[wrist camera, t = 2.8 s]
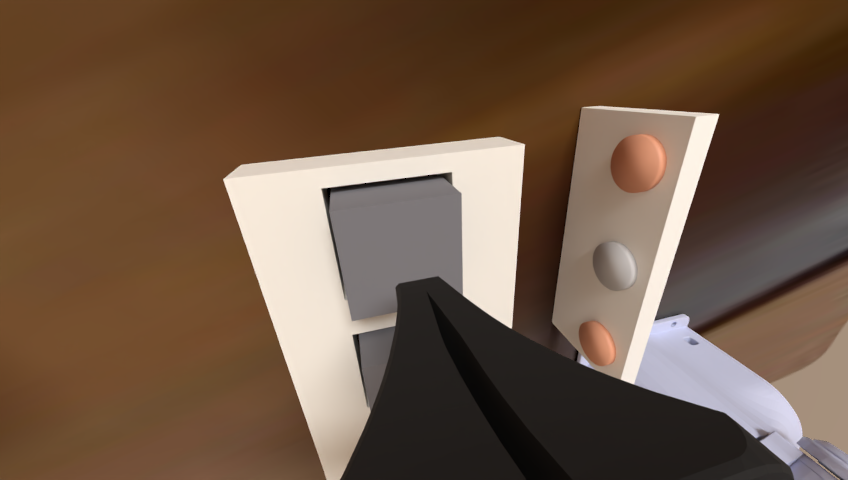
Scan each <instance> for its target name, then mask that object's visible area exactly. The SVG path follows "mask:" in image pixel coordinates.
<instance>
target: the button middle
mask: <svg viewBox="0 0 848 480" xmlns="http://www.w3.org/2000/svg"><path fill="white" fill-rule="evenodd" d="M394 331H395V326H393V327H388V328H383V329H378V330H374V331H369V332H364V333H359V342H360V354H361V366H362V373H363V378H364V382H365V387H366V392H367V397H368V402H369V407H370V411H371V410H372V407H373V404H374V402H375V399H376V396H377V394H378V391H379V388H380V385H381V382H382V379H383V376H384V373H385V369H386V366H387V362H388V359H389V355H390V350H391V346H392V341H393V337H394Z"/></svg>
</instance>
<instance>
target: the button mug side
mask: <svg viewBox="0 0 848 480" xmlns="http://www.w3.org/2000/svg"><path fill="white" fill-rule="evenodd" d="M329 213H330V218H331V223H332V228H333V233H334V238H335V242H336V247H337V252H338V257H339V262H340V267H341V271H342V276H343V281H344V286H345V291H346V295H347V300H348V305H349V310H350V315H351V320H352V321H356V320H361V319H366V318H371V317H376V316H381V315H386V314H391V313H395V312H397V297H396V289H395V287H396V286H397V285H398V284H399V283H404V282H409V281H415V280H420V279H425V278H431V277H436V276H439V277H440V278H441V279H443V280H444V281H445V282H447V283H448V284H449V285H450V286H452V287H453V288H454V289H455V290H457V291H458V292H459V293H460V294H462V295H463V263H462V193H461V192H459V191H458V190H457V189H456V188H455V187H454V186H452V185H451V184H450V183H449V182H448V181H447V180H445V179H444V178H443V177H442V176H441V175H435V176H427V177H419V178H411V179H403V180H395V181H387V182H380V183H372V184H364V185H356V186H348V187H340V188H332V189H331V194H330V207H329Z"/></svg>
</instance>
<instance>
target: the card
mask: <svg viewBox="0 0 848 480" xmlns="http://www.w3.org/2000/svg"><path fill="white" fill-rule="evenodd" d="M718 116H719V114H710V113H695V112H680V111H666V110H651V109H636V108H621V107H606V106H593V107H583V108H582V109H581V116H580V123H579V130H578V137H577V145H576V152H575V159H574V166H573V173H572V180H571V188H570V195H569V202H568V209H567V216H566V224H565V231H564V238H563V245H562V252H561V260H560V267H559V274H558V281H557V288H556V296H555V303H554V310H553V317H552V323H553V324H554V325H555V326H556V328H557V329H558V330H559V331H560V332H561V333H562V334H563V335H564V336H565V337H566V338H567V340H568V341H569V342H570V343H571V344H572V345H573V346H574V347H575V348H576V349H577V351H578V352H579V353H580V354H581V355H582V356H583V357H584V358H585V359H586V360H587V361H588V363H589V364H590V365H591V366H592V367H593V368H594V369H595V370H597V371H599V372H602V373H604V374H607V375H610V376H612V377H615V378H617V379H620V380H623V381H626V382H629V383H631V384H634V383H635V380H636V376H637V373H638V370H639V367H640V364H641V361H642V357H643V354H644V351H645V348H646V345H647V342H648V338H649V335H650V332H651V329H652V326H653V323H654V319H655V316H656V313H657V310H658V307H659V303H660V300H661V297H662V294H663V291H664V288H665V284H666V281H667V278H668V275H669V272H670V269H671V265H672V262H673V259H674V256H675V253H676V250H677V246H678V243H679V240H680V237H681V234H682V231H683V227H684V224H685V221H686V218H687V215H688V212H689V208H690V205H691V202H692V199H693V196H694V193H695V189H696V186H697V183H698V180H699V177H700V174H701V170H702V167H703V164H704V161H705V158H706V155H707V151H708V148H709V145H710V142H711V139H712V135H713V132H714V129H715V126H716V123H717V120H718Z"/></svg>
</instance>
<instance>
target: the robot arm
mask: <svg viewBox="0 0 848 480" xmlns="http://www.w3.org/2000/svg"><path fill="white" fill-rule="evenodd" d="M395 289H396V297H397V317H396V325H395V331H394V337H393V341H392V346H391V350H390V355H389V359H388V362H387V366H386V369H385V373H384V376H383V379H382V382H381V385H380V388H379V391H378V394H377V396H376V399H375V402H374V404H373V407H372V410H371V413H370V415H369V418H368V420H367V422H366V425H365V427H364V430H363V432H362V434H361V436H360V438H359V440H358V443H357V445H356V447H355V449H354V451H353V453H352V456H351V458H350V460H349V462H348V464H347V466H346V469H345V471H344V473H343V475H342V477H341V479H340V480H837V479H836V478H835V477H833V476H832V475H831V474H830V473H828V472H827V471H826V470H825V469H823V468H822V467H821V466H820V465H818V464H817V463H815V462H814V461H813V460H812V459H811V458H809V457H808V456H806V455H805V454H804V453H803V452H802V451H800V450H799V448H800V447H802V448H803V449H804V450H806V451H807V452H808V453H809V454H811V455H812V456H813V457H814V458H816V459H817V460H818V462H819V463H820V464H821V465H823V466H824V467H825V468H826V469H828V470H829V471H830V472H831V473H833V474H834V475H835V476H836V477H838V478H839V479H840V480H848V455H847V454H846V453H844V452H843V451H841V450H840V449H838V448H837V447H835V446H834V445H832V444H831V443H829V442H827V441H821V440H811V439H810V438H808V437H802V427H801V424H800V421H799V418H798V417H797V415H796V413H795V411H794V410H793V408H792V407H791V405H790V404H789V403H788V402H787V400H786V399H785V398H784V397H783V396H782V395H781V394H780V393H779V391H778V390H776V389H775V388H774V387H773V386H772V385H771V384H770V383H768V382H767V381H766V380H764V379H763V378H761V377H760V376H759V375H757V374H756V373H754V372H753V371H751V370H750V369H748V368H747V367H745V366H744V365H742V364H741V363H740V362H738V361H737V360H735V359H734V358H732V357H731V356H729V355H728V354H726V353H725V352H723V351H722V350H720V349H719V348H718V347H716V346H715V345H713V344H712V343H710V342H709V341H707V340H706V339H704V338H703V337H701V336H700V335H699V334H697V333H696V332H694V331H693V330H691V329H690V328H688V327H687V325H688V322H689V317H688V316H686V315H685V314H680V315H676V316H672V317H668V318H664V319H660V320H656V321H654V323H653V326H652V329H651V332H650V335H649V338H648V342H647V345H646V348H645V351H644V354H643V357H642V361H641V364H640V367H639V370H638V373H637V376H636V380H635V383H634V384H631V383H629V382H626V381H623V380H620V379H617V378H615V377H612V376H610V375H607V374H604V373H602V372H599V371H597V370H595V369H594V368H593V367H592V366H591V365H590V364H589V363H588V361H587V360H586V359H585V358H584V357H583V356H582V355H581V354H580V353H578V358H577V362H576V361H573V360H571V359H569V358H567V357H564V356H562V355H560V354H558V353H556V352H554V351H552V350H549V349H547V348H546V347H544V346H542V345H540V344H538V343H536V342H534V341H532V340H530V339H528V338H527V337H525V336H523V335H521V334H519V333H518V332H516V331H514V330H512V329H511V328H509V327H508V326H506V325H504V324H503V323H501V322H500V321H498V320H496V319H495V318H493V317H492V316H490V315H489V314H487V313H486V312H485V311H483V310H482V309H480V308H479V307H478V306H476V305H475V304H474V303H472V302H471V301H469V300H468V299H467V298H466V297H464V296H463V295H462V294H460V293H459V292H458V291H457V290H455V289H454V288H453V287H452V286H450V285H449V284H448V283H447V282H445V281H444V280H443V279H441V278H440V277H439V276H436V277H431V278H425V279H420V280H415V281H409V282H404V283H399V284H398V285H397V286H396V287H395Z"/></svg>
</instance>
